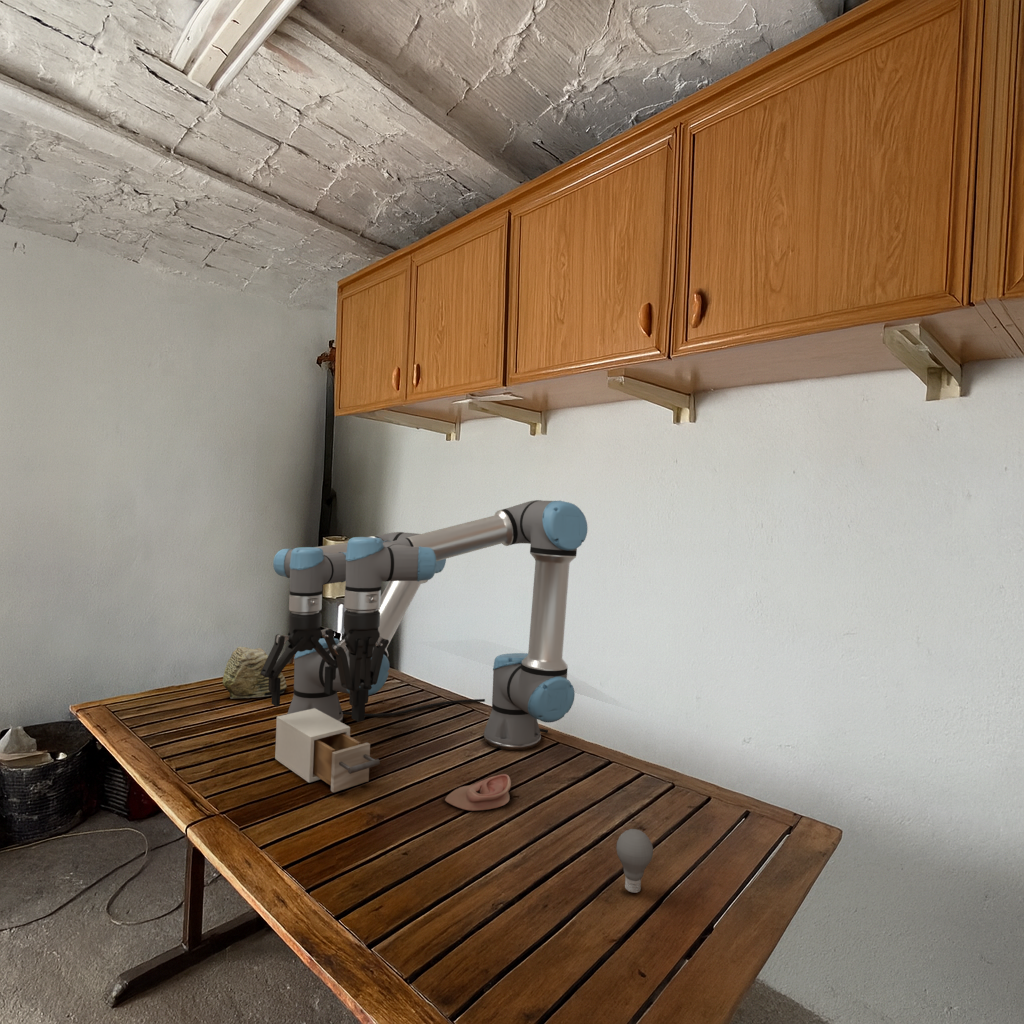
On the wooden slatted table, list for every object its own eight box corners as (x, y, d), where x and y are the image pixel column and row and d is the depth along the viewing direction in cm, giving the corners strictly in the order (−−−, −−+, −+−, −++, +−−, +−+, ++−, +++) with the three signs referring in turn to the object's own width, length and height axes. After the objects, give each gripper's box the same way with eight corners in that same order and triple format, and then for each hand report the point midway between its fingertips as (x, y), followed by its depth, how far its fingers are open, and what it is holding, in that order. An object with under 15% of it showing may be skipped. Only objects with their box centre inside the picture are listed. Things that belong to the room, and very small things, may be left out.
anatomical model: (441, 787, 131) (457, 765, 142) (440, 806, 131) (456, 783, 143) (503, 796, 129) (514, 773, 140) (502, 816, 129) (513, 791, 140)
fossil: (218, 695, 195) (220, 647, 195) (278, 685, 208) (279, 640, 207) (228, 703, 189) (230, 653, 188) (289, 692, 201) (290, 645, 201)
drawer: (382, 789, 136) (383, 751, 136) (346, 801, 130) (347, 761, 130) (332, 758, 151) (334, 724, 151) (298, 768, 145) (299, 732, 144)
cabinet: (348, 770, 147) (350, 727, 147) (309, 783, 140) (310, 737, 140) (313, 748, 159) (314, 708, 158) (274, 758, 152) (276, 716, 151)
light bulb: (610, 879, 108) (613, 822, 108) (644, 879, 109) (647, 822, 109) (619, 902, 102) (622, 840, 102) (655, 901, 103) (658, 840, 103)
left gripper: (261, 620, 141) (258, 714, 142) (359, 608, 159) (356, 692, 159) (247, 614, 146) (244, 705, 147) (343, 604, 164) (340, 685, 165)
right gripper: (344, 615, 128) (339, 731, 128) (397, 609, 137) (393, 717, 138) (325, 609, 133) (321, 721, 133) (378, 604, 142) (374, 708, 143)
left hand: (302, 699), depth 153 cm, fingers open, 13 cm apart
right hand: (358, 719), depth 135 cm, fingers closed
